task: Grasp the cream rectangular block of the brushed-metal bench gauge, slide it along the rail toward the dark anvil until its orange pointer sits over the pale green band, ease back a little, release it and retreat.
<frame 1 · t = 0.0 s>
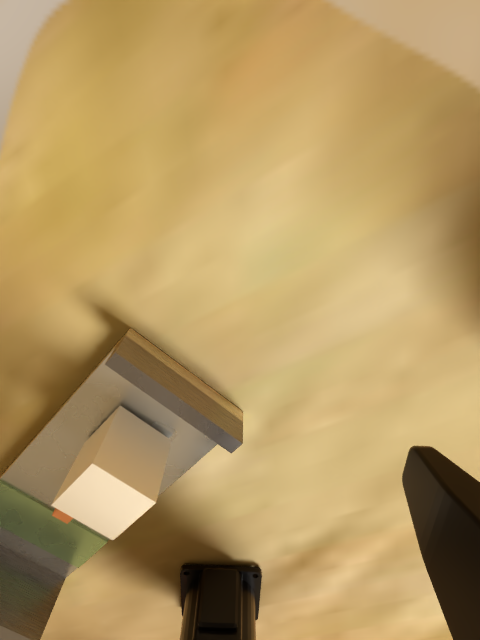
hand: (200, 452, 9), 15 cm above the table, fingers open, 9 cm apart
cream rectangular block: (93, 492, 24), point 4 cm above the table, slide at 0.0 cm
gauge: (84, 477, 29), on the table
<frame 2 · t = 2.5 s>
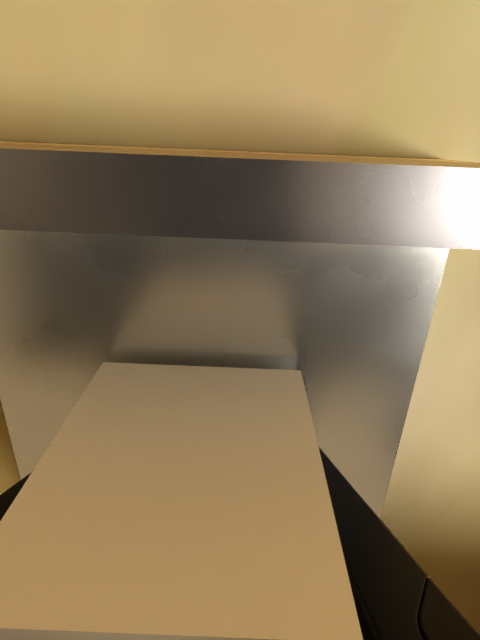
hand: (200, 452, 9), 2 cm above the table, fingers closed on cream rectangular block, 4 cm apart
cream rectangular block: (189, 630, 8), point 4 cm above the table, slide at 0.0 cm, touching gripper
gauge: (206, 564, 13), on the table
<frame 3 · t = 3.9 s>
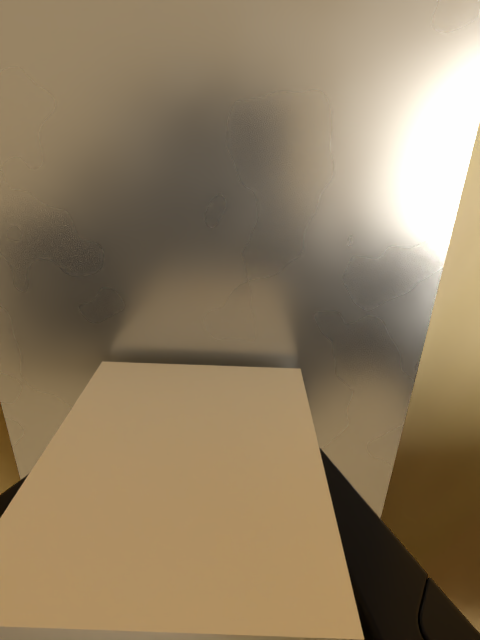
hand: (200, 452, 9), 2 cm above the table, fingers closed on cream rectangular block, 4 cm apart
cream rectangular block: (190, 630, 8), point 4 cm above the table, slide at 4.3 cm, touching gripper
gauge: (207, 458, 11), on the table
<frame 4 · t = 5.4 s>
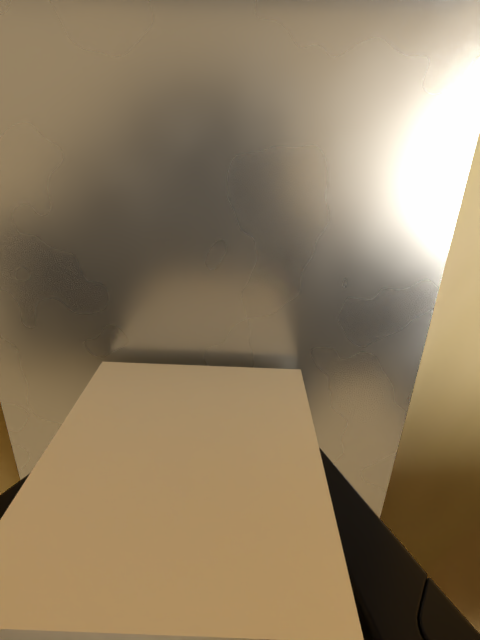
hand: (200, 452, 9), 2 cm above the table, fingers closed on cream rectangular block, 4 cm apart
cream rectangular block: (189, 630, 8), point 4 cm above the table, slide at 3.5 cm, touching gripper
gauge: (206, 480, 11), on the table
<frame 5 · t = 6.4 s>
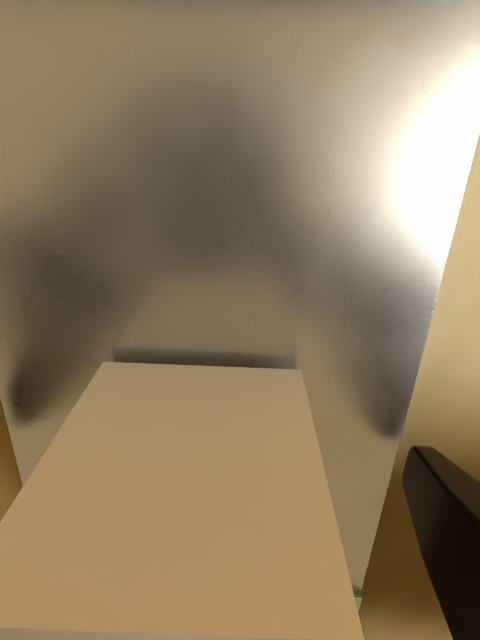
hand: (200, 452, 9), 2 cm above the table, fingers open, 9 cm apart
cream rectangular block: (190, 629, 8), point 4 cm above the table, slide at 3.5 cm
gauge: (207, 480, 11), on the table
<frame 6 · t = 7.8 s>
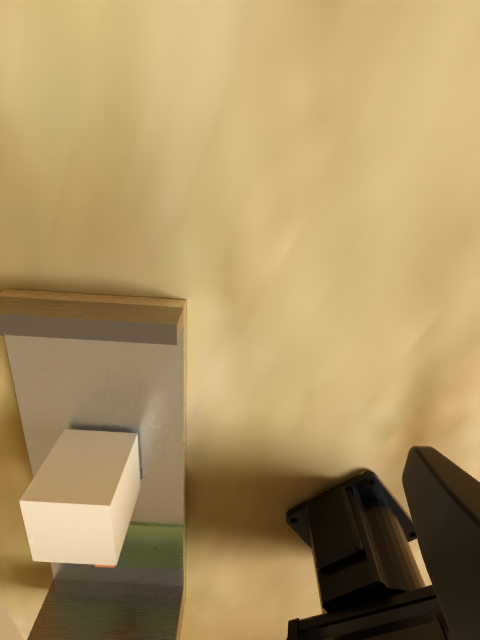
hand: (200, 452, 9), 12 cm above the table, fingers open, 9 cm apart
cream rectangular block: (93, 526, 22), point 4 cm above the table, slide at 3.5 cm
gauge: (113, 474, 25), on the table
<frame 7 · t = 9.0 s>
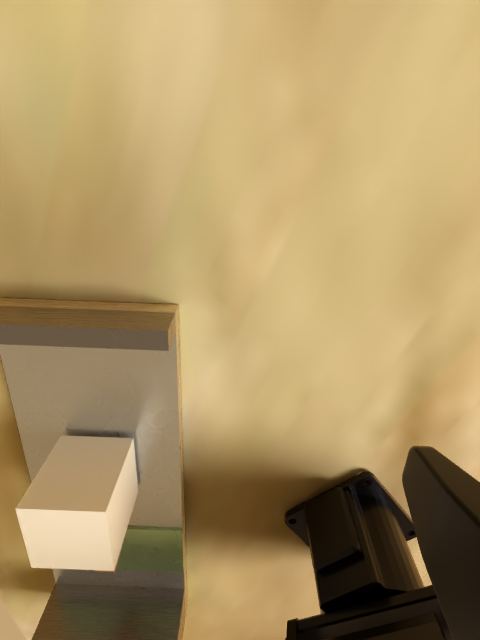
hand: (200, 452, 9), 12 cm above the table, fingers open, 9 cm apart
cream rectangular block: (91, 532, 22), point 4 cm above the table, slide at 3.5 cm
gauge: (112, 478, 25), on the table
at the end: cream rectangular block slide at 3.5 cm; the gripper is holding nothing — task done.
